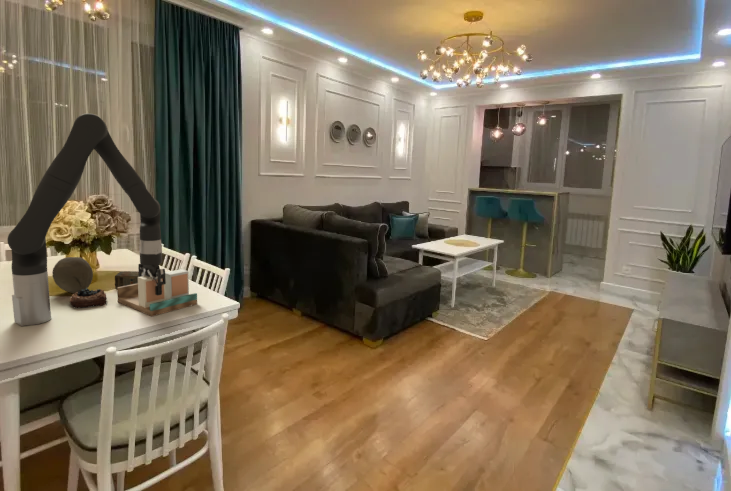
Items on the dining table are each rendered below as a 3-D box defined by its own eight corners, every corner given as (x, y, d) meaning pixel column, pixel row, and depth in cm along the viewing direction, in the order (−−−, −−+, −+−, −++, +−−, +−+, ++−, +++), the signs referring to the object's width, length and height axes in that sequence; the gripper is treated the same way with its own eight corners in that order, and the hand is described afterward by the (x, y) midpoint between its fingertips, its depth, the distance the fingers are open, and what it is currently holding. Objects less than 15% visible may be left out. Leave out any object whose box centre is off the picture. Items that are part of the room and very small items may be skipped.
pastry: (108, 305, 161) (107, 291, 159) (70, 310, 153) (69, 295, 152) (105, 297, 169) (104, 283, 168) (69, 301, 162) (68, 287, 161)
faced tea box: (171, 301, 163) (170, 274, 161) (164, 299, 165) (163, 272, 163) (189, 297, 169) (188, 271, 167) (182, 294, 172) (181, 269, 170)
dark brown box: (161, 289, 185) (161, 274, 183) (114, 289, 180) (113, 274, 179) (165, 283, 192) (165, 270, 191) (120, 284, 188) (119, 270, 186)
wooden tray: (151, 316, 152) (151, 300, 151) (117, 301, 164) (117, 287, 163) (197, 304, 168) (197, 289, 167) (163, 291, 180) (162, 278, 179)
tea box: (145, 307, 154) (144, 279, 152) (138, 305, 157) (137, 277, 155) (165, 302, 161) (165, 275, 159) (158, 300, 163) (158, 273, 161)
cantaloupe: (100, 287, 180) (98, 254, 178) (83, 297, 167) (81, 261, 164) (65, 287, 178) (62, 253, 176) (45, 297, 165) (42, 260, 162)
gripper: (130, 249, 156) (132, 290, 159) (151, 255, 148) (153, 298, 151) (150, 247, 162) (151, 286, 165) (171, 252, 154) (172, 294, 157)
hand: (152, 292), depth 158 cm, fingers open, 8 cm apart
